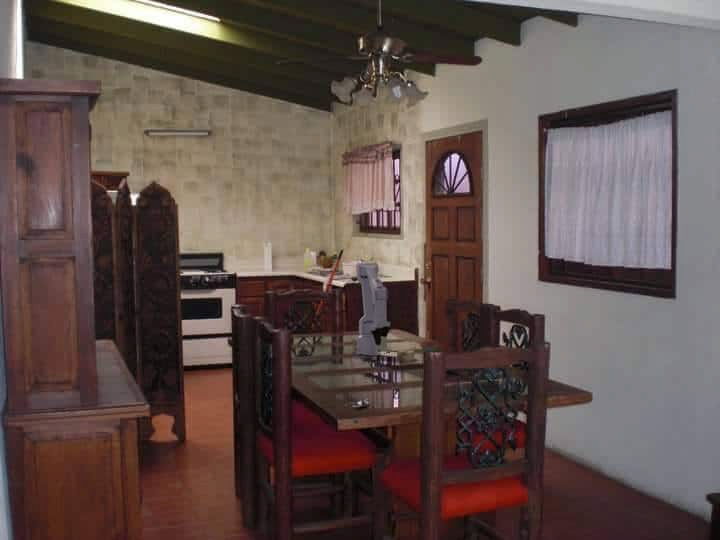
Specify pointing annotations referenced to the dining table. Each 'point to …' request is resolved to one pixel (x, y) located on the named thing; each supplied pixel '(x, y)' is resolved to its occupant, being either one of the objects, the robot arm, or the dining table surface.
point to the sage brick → (382, 343)
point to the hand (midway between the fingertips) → (380, 343)
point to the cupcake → (429, 344)
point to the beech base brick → (405, 355)
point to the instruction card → (388, 354)
